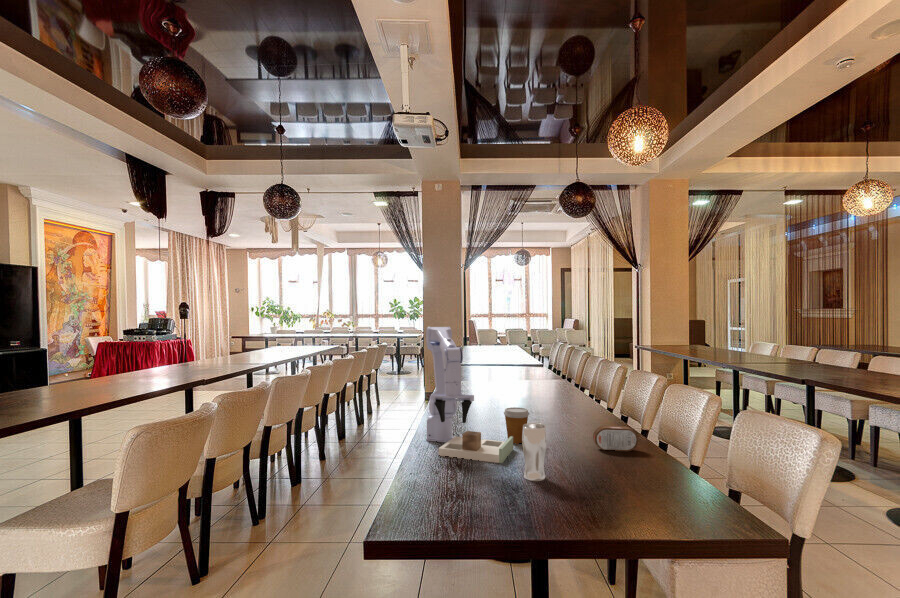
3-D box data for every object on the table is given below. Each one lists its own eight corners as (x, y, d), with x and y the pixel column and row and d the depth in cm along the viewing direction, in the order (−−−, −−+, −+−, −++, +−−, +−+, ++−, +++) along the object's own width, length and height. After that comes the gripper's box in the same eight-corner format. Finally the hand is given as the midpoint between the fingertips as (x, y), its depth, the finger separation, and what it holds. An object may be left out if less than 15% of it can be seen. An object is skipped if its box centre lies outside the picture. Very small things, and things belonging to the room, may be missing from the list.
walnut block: (462, 449, 151) (462, 434, 151) (467, 445, 155) (467, 430, 156) (476, 451, 149) (476, 435, 149) (481, 447, 154) (481, 432, 154)
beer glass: (546, 482, 128) (546, 429, 128) (521, 481, 129) (521, 428, 129) (546, 474, 134) (546, 423, 135) (522, 472, 136) (522, 422, 136)
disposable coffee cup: (531, 445, 164) (531, 412, 165) (505, 445, 164) (505, 412, 165) (527, 438, 174) (527, 407, 174) (502, 438, 174) (502, 407, 174)
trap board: (438, 455, 152) (438, 442, 152) (454, 443, 167) (454, 431, 167) (502, 463, 144) (502, 449, 144) (513, 449, 159) (513, 436, 159)
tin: (636, 449, 159) (636, 425, 160) (639, 452, 156) (639, 428, 156) (593, 448, 161) (592, 424, 161) (594, 451, 158) (594, 426, 158)
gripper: (429, 382, 155) (429, 423, 153) (470, 383, 151) (471, 424, 149) (435, 381, 162) (436, 420, 160) (475, 381, 157) (476, 421, 156)
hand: (453, 422), depth 155 cm, fingers open, 7 cm apart
